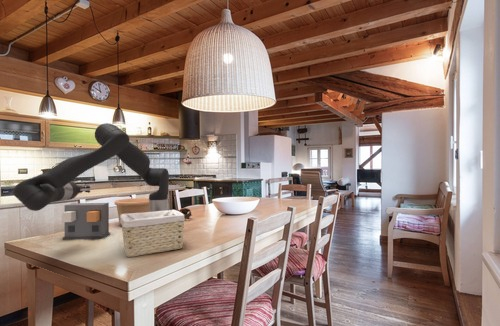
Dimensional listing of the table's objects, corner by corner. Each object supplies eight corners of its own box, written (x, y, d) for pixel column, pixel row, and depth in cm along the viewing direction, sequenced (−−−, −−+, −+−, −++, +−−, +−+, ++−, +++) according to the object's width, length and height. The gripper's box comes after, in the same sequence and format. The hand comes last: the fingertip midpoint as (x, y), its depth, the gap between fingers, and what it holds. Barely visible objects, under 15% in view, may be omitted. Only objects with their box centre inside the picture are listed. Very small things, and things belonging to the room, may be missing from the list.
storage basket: (123, 259, 106) (123, 219, 106) (119, 248, 120) (119, 213, 120) (186, 250, 118) (186, 214, 118) (176, 240, 132) (175, 208, 132)
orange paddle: (92, 219, 136) (92, 210, 136) (100, 219, 137) (100, 210, 137) (86, 221, 131) (86, 212, 131) (95, 221, 132) (95, 212, 132)
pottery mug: (194, 218, 187) (194, 209, 183) (187, 228, 179) (187, 217, 175) (177, 213, 189) (177, 203, 185) (170, 222, 181) (170, 212, 177)
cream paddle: (68, 220, 136) (68, 210, 136) (76, 219, 136) (76, 210, 136) (61, 222, 131) (61, 212, 131) (70, 222, 131) (70, 212, 131)
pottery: (107, 228, 156) (107, 202, 156) (125, 220, 178) (125, 197, 178) (145, 229, 155) (145, 202, 156) (160, 221, 177) (160, 198, 177)
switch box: (72, 235, 142) (72, 203, 142) (110, 234, 143) (110, 202, 144) (62, 239, 134) (62, 205, 134) (102, 238, 135) (102, 205, 135)
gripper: (80, 181, 110) (101, 179, 127) (44, 181, 109) (70, 179, 126) (80, 200, 110) (100, 196, 127) (44, 201, 109) (70, 196, 126)
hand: (85, 187), depth 127 cm, fingers closed
